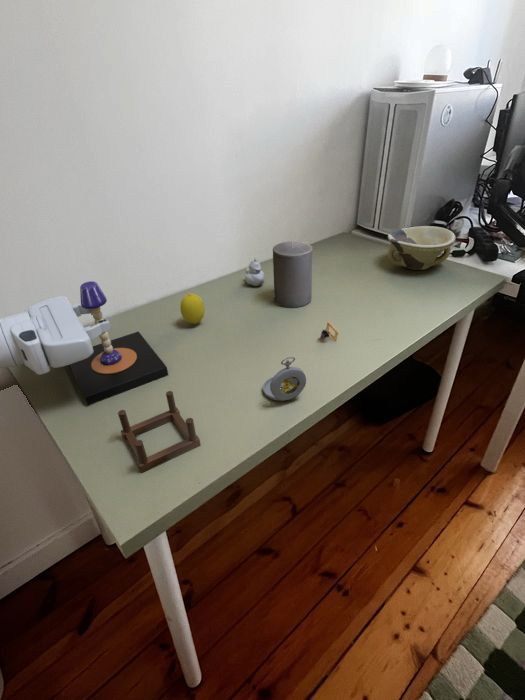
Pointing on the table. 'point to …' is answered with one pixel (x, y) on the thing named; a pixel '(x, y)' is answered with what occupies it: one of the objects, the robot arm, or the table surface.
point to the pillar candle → (292, 273)
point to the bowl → (420, 246)
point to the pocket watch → (285, 383)
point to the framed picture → (328, 332)
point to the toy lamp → (98, 318)
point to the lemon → (192, 308)
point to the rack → (142, 427)
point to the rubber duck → (254, 274)
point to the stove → (118, 369)
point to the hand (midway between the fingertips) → (103, 315)
